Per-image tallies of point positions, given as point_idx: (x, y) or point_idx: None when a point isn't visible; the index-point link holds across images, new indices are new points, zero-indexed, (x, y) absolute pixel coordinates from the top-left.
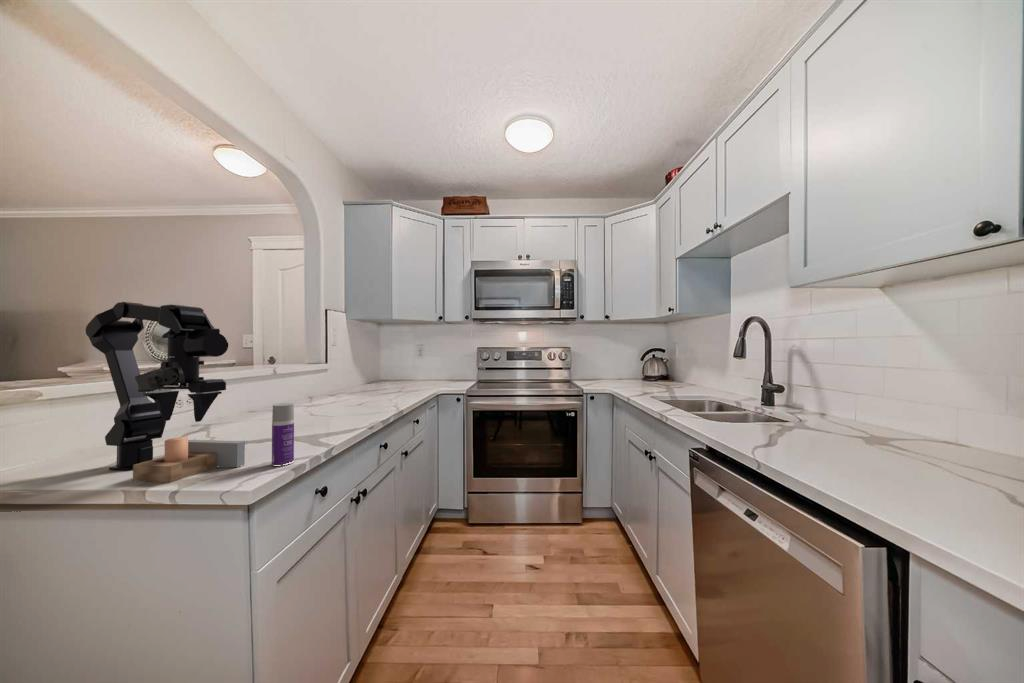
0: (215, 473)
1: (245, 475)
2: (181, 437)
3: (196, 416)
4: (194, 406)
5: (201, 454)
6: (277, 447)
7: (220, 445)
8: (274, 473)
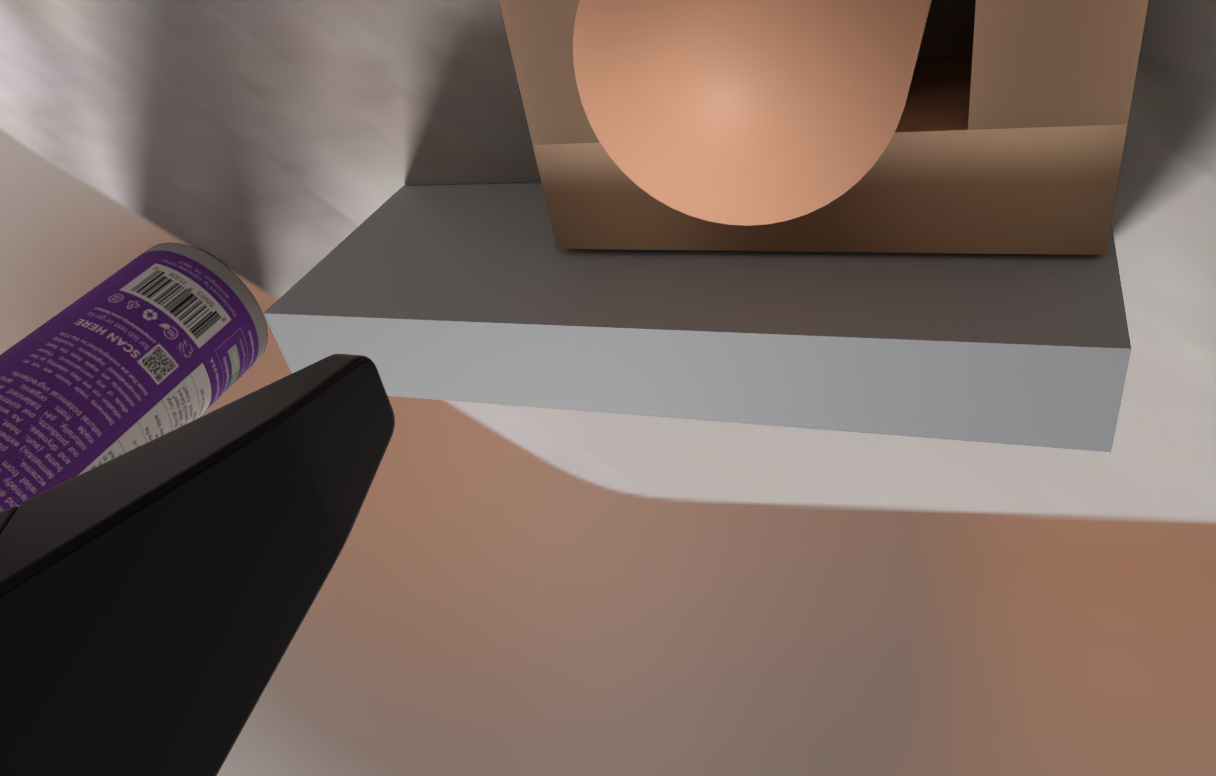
0: (410, 21)
1: (125, 31)
2: (799, 197)
3: (236, 404)
4: (10, 554)
5: None
6: (40, 330)
7: (477, 303)
8: (13, 114)
